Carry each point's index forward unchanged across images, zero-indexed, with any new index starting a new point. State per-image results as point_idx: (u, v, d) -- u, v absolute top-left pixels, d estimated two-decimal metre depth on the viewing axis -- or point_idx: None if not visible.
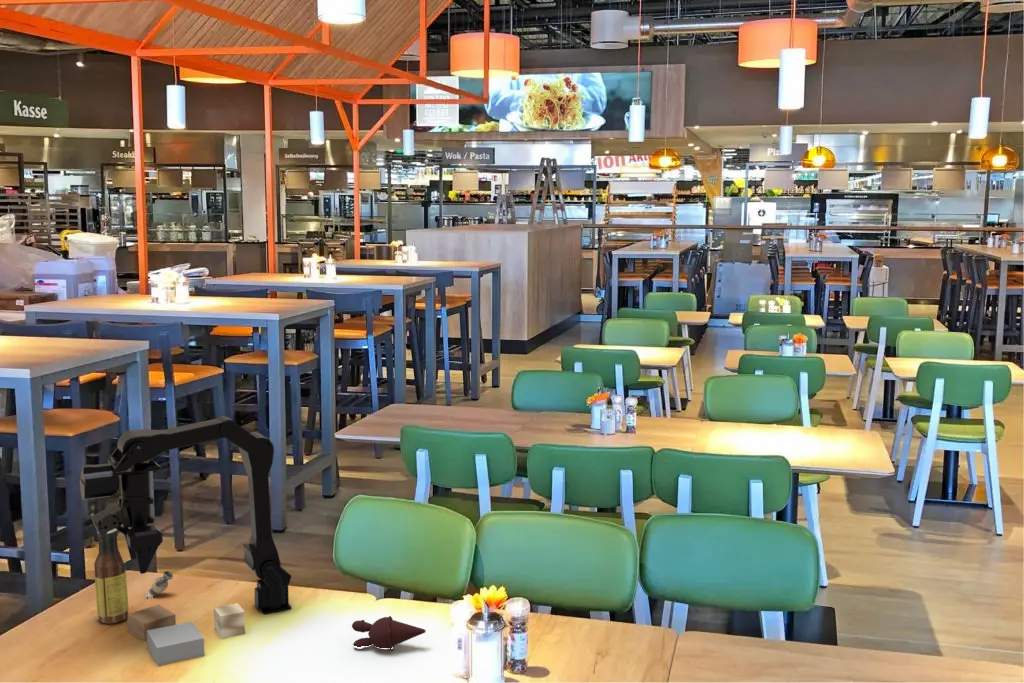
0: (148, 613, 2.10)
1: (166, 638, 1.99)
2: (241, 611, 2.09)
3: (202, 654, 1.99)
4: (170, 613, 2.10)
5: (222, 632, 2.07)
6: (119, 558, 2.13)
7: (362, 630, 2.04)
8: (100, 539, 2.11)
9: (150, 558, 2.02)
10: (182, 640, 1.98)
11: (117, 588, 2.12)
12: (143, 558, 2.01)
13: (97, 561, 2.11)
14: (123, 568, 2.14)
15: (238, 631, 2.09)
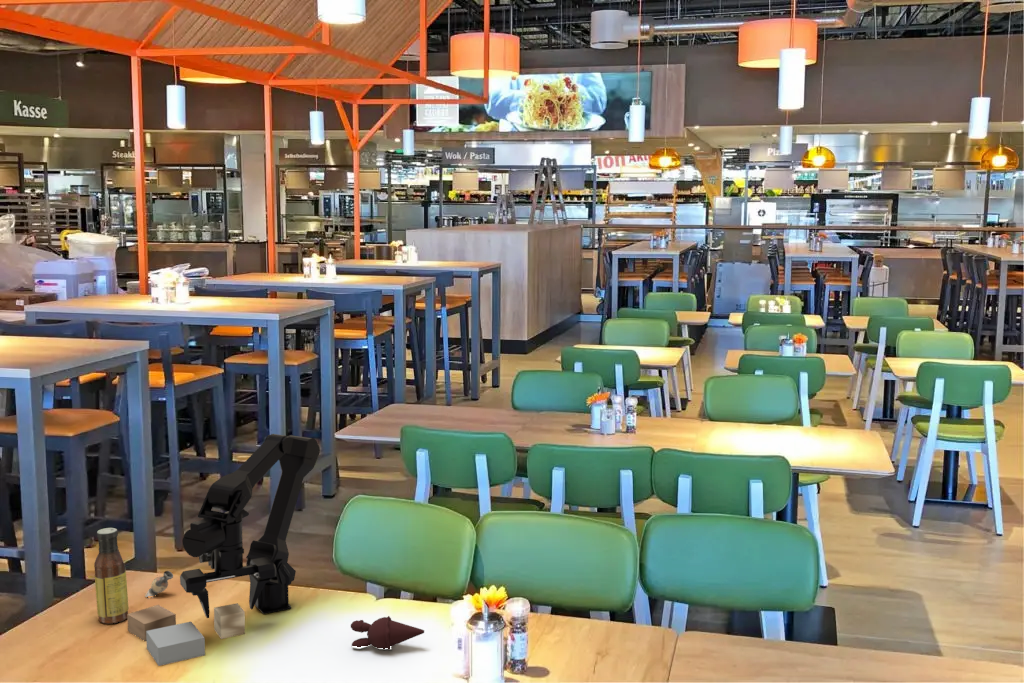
0: (148, 613, 2.10)
1: (166, 638, 1.99)
2: (241, 611, 2.09)
3: (203, 653, 2.00)
4: (171, 612, 2.10)
5: (222, 632, 2.07)
6: (119, 558, 2.13)
7: (361, 630, 2.04)
8: (100, 539, 2.11)
9: (203, 605, 2.06)
10: (182, 640, 1.98)
11: (117, 588, 2.12)
12: (201, 602, 2.07)
13: (97, 561, 2.11)
14: (123, 568, 2.14)
15: (238, 631, 2.09)
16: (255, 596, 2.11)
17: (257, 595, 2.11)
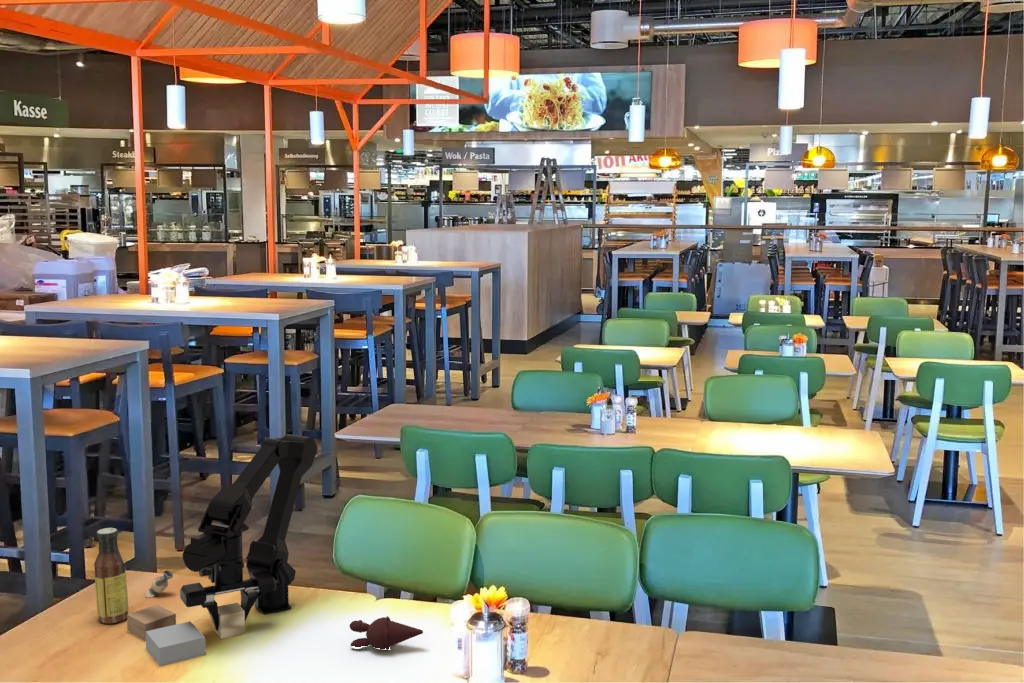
0: (148, 613, 2.10)
1: (167, 638, 1.99)
2: (241, 611, 2.09)
3: (203, 653, 2.00)
4: (171, 612, 2.11)
5: (222, 632, 2.07)
6: (119, 558, 2.13)
7: (359, 630, 2.04)
8: (100, 539, 2.11)
9: (212, 618, 2.07)
10: (183, 640, 1.98)
11: (117, 588, 2.12)
12: (210, 614, 2.08)
13: (97, 561, 2.11)
14: (123, 568, 2.14)
15: (238, 631, 2.09)
16: (246, 612, 2.10)
17: (248, 611, 2.10)
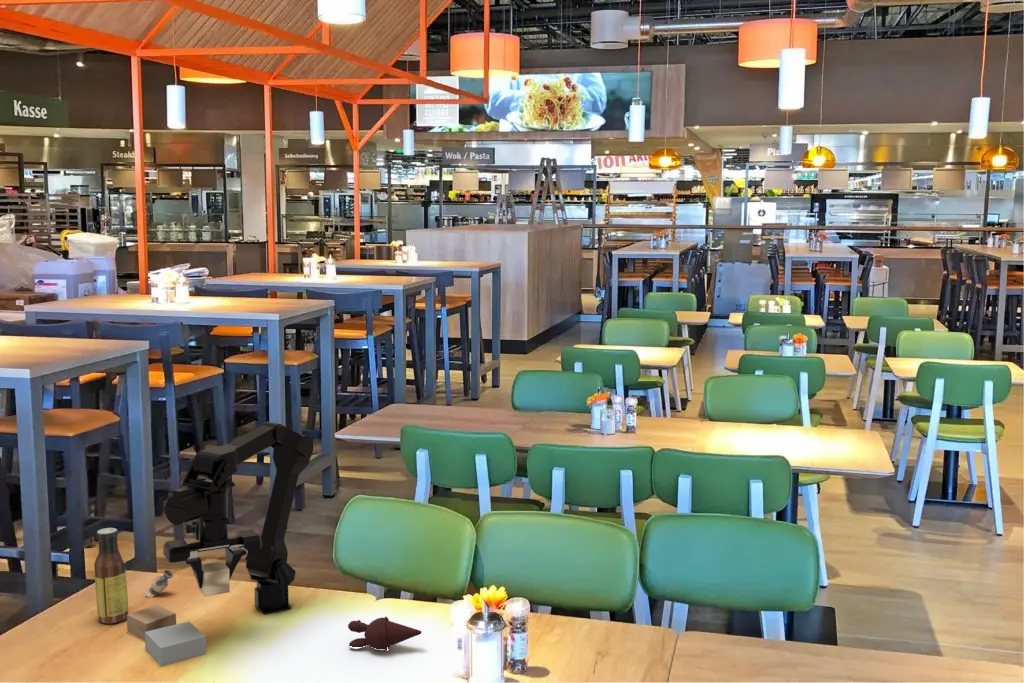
0: (148, 613, 2.10)
1: (167, 638, 1.99)
2: (226, 568, 2.05)
3: (204, 652, 2.00)
4: (171, 612, 2.11)
5: (206, 589, 2.03)
6: (119, 558, 2.13)
7: (358, 630, 2.04)
8: (100, 539, 2.11)
9: (196, 575, 2.03)
10: (184, 639, 1.98)
11: (117, 588, 2.12)
12: (194, 571, 2.04)
13: (97, 561, 2.11)
14: (123, 568, 2.14)
15: (223, 589, 2.05)
16: (231, 570, 2.06)
17: (233, 569, 2.06)
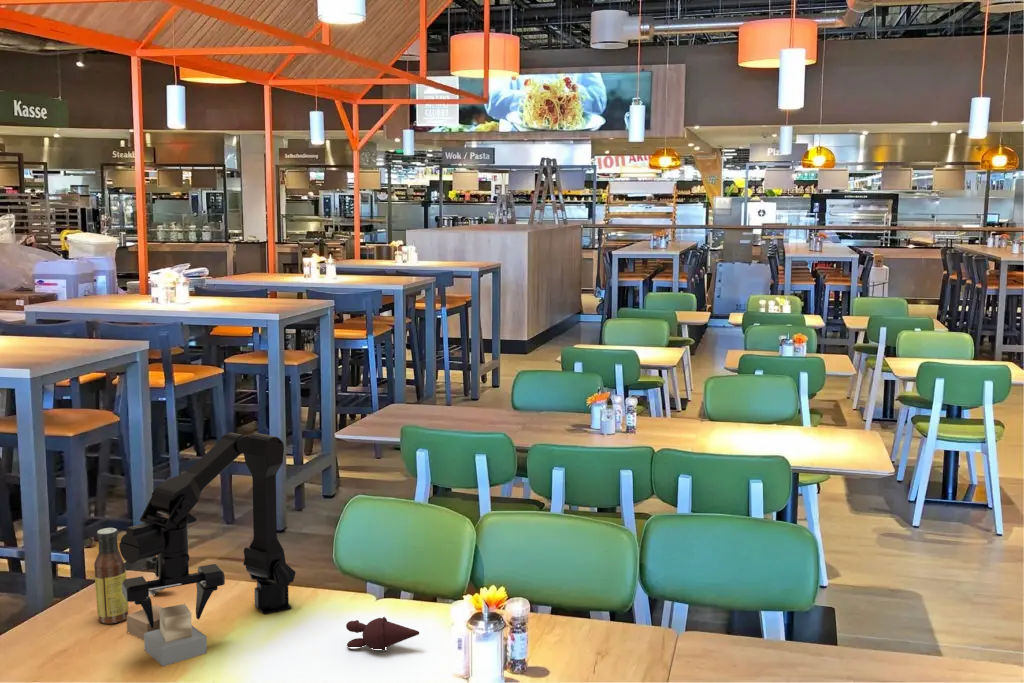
0: None
1: None
2: (188, 612, 1.99)
3: (205, 652, 2.00)
4: None
5: (167, 634, 1.97)
6: (119, 558, 2.13)
7: (356, 630, 2.04)
8: (100, 539, 2.11)
9: (146, 615, 1.96)
10: (185, 640, 1.98)
11: (117, 588, 2.12)
12: (145, 611, 1.97)
13: (97, 561, 2.11)
14: (123, 568, 2.14)
15: (185, 634, 1.99)
16: (202, 605, 2.01)
17: (203, 604, 2.01)
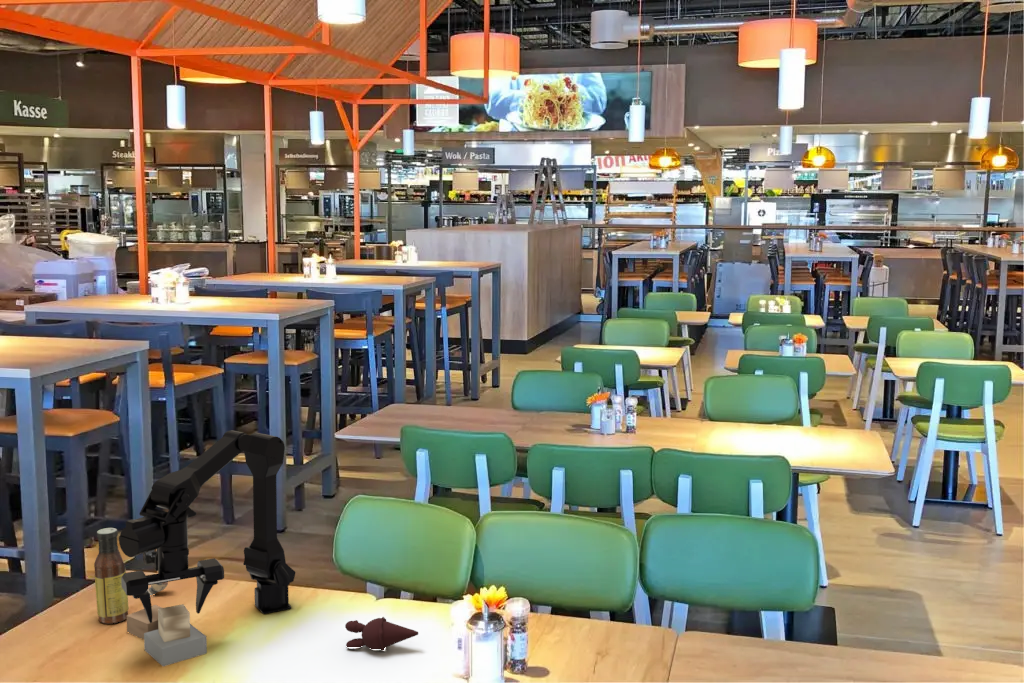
0: None
1: None
2: (186, 612, 1.99)
3: (205, 652, 2.00)
4: None
5: (165, 635, 1.97)
6: (119, 558, 2.13)
7: (355, 630, 2.04)
8: (100, 539, 2.11)
9: (145, 609, 1.95)
10: (185, 639, 1.98)
11: (117, 588, 2.12)
12: (143, 605, 1.96)
13: (97, 561, 2.11)
14: (123, 568, 2.14)
15: (183, 634, 1.99)
16: (202, 599, 2.01)
17: (204, 598, 2.01)
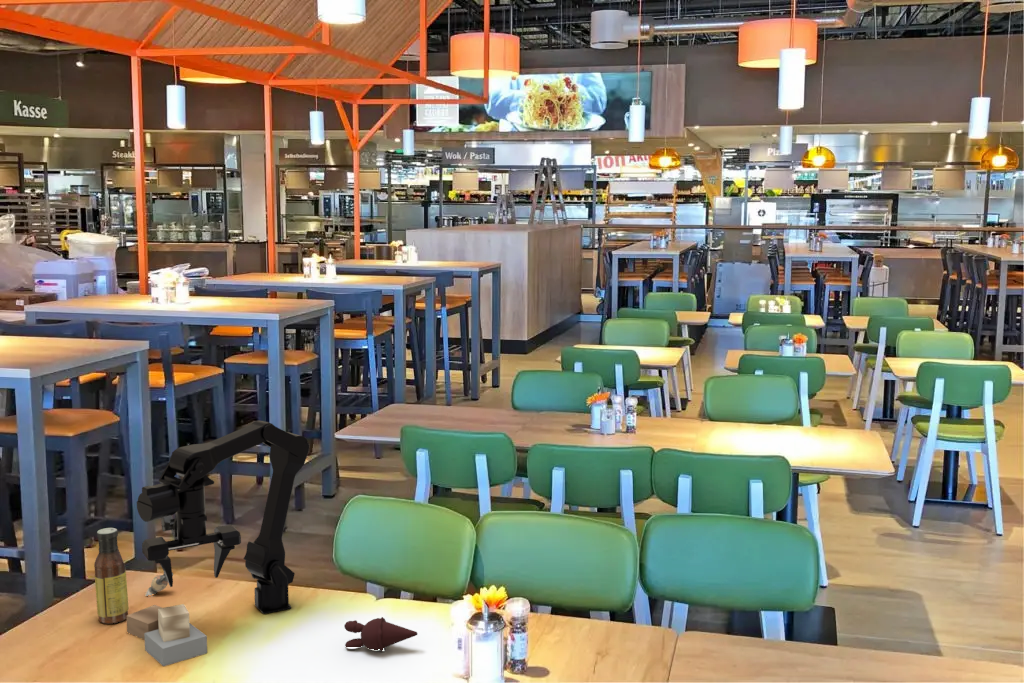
0: (148, 613, 2.10)
1: None
2: (185, 612, 1.99)
3: (205, 652, 2.00)
4: None
5: (165, 634, 1.97)
6: (119, 558, 2.13)
7: (354, 631, 2.04)
8: (100, 539, 2.11)
9: (166, 574, 2.02)
10: (185, 639, 1.98)
11: (117, 588, 2.12)
12: (164, 570, 2.04)
13: (97, 561, 2.11)
14: (123, 568, 2.14)
15: (183, 634, 1.99)
16: (220, 564, 2.08)
17: (221, 563, 2.08)
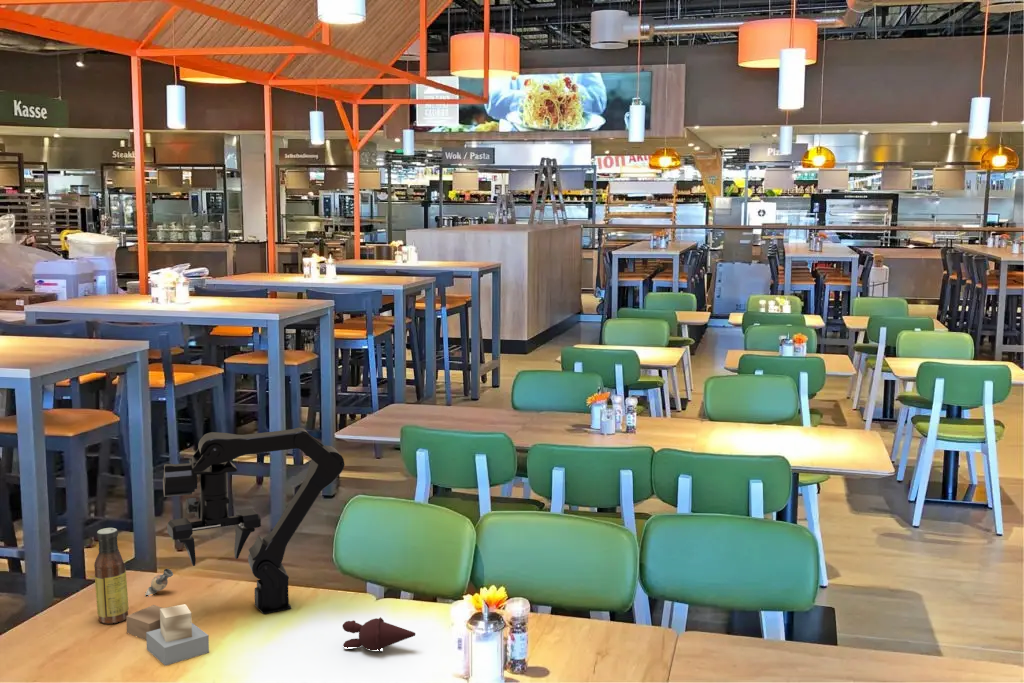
0: (148, 613, 2.10)
1: None
2: (188, 612, 1.99)
3: (207, 651, 2.01)
4: None
5: (167, 634, 1.97)
6: (119, 558, 2.13)
7: (352, 631, 2.03)
8: (100, 539, 2.11)
9: (189, 553, 2.13)
10: (187, 639, 1.99)
11: (117, 588, 2.12)
12: (187, 550, 2.14)
13: (97, 561, 2.11)
14: (123, 568, 2.14)
15: (185, 634, 1.99)
16: (240, 545, 2.18)
17: (242, 544, 2.18)
